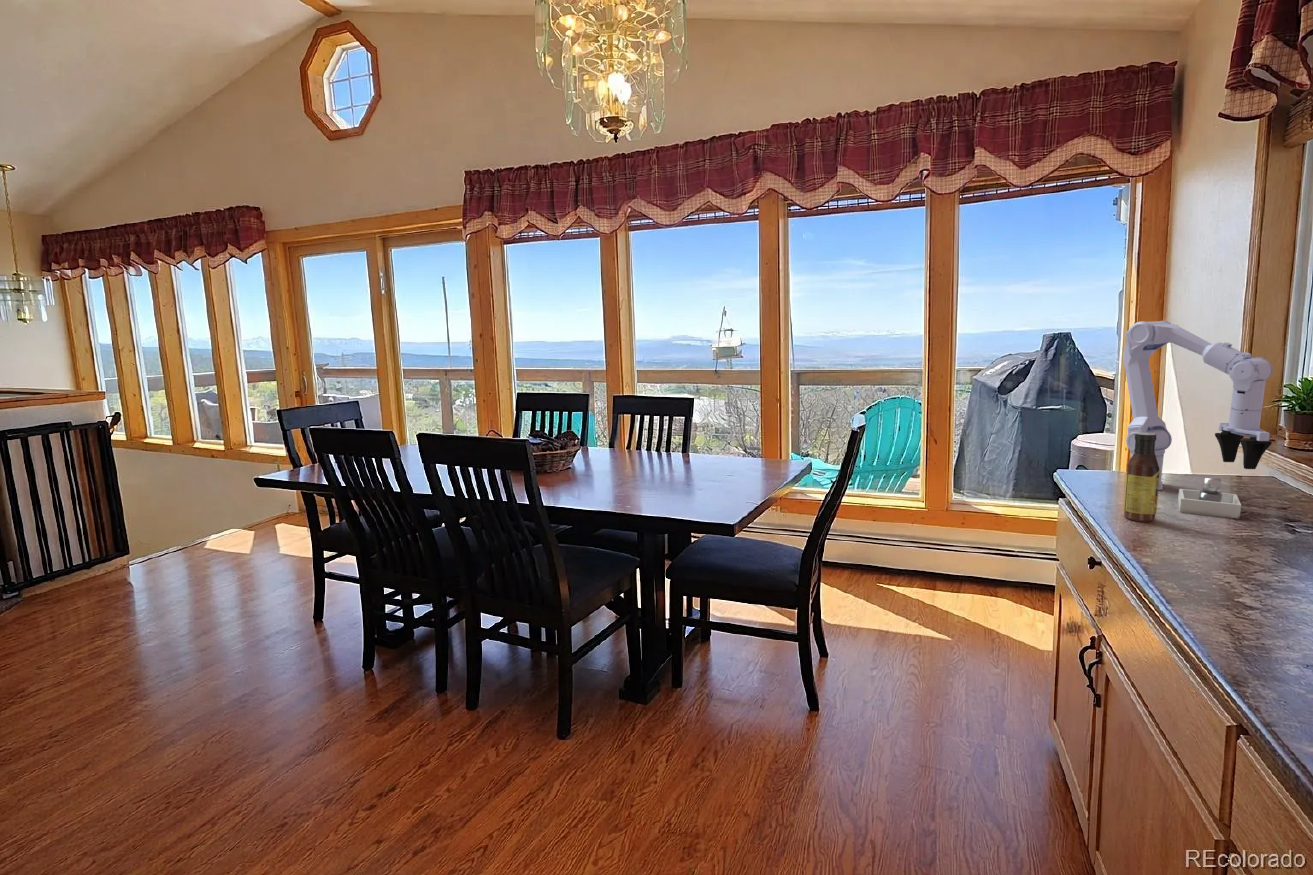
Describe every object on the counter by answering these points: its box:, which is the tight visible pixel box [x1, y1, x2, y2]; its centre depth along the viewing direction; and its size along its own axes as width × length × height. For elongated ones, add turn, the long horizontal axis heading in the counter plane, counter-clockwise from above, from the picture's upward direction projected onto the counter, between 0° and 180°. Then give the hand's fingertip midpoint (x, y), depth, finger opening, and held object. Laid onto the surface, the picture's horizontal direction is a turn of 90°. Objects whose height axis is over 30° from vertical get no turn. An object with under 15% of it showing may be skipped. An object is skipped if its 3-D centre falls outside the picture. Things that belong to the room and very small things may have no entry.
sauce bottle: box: [1123, 433, 1160, 522], centre depth 160 cm, size 7×6×20 cm
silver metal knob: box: [1199, 476, 1223, 502], centre depth 167 cm, size 4×4×7 cm
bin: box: [1177, 488, 1242, 520], centre depth 167 cm, size 11×11×3 cm
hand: (1238, 465), depth 169 cm, fingers open, 7 cm apart
